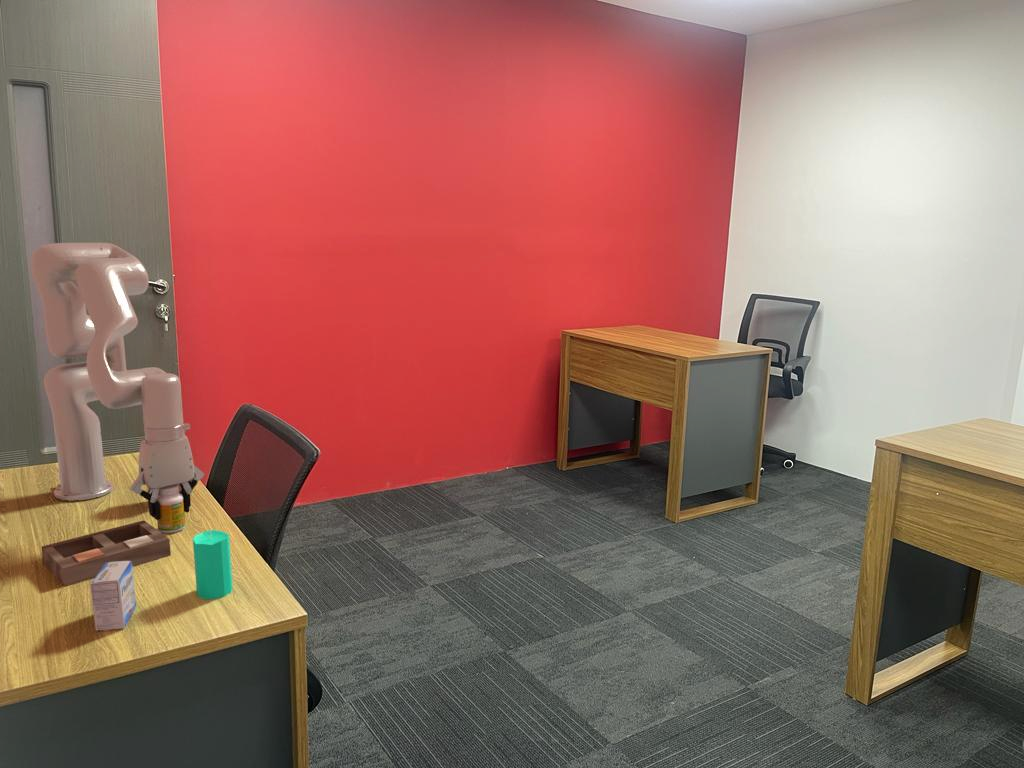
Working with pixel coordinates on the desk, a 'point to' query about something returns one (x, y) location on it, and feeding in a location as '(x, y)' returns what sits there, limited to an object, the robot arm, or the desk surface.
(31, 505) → the desk surface
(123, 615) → the medicine box
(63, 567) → the socket block
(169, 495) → the supplement bottle
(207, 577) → the candle
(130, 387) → the robot arm
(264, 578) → the desk surface
